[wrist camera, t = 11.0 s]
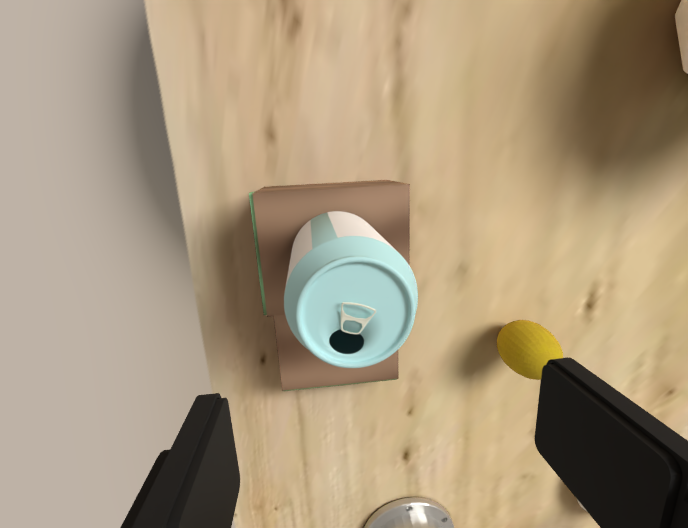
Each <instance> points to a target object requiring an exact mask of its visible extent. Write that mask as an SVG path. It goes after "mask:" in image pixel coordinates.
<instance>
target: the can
mask: <svg viewBox="0 0 688 528" xmlns="http://www.w3.org/2000/svg"><path fill="white" fill-rule="evenodd" d="M417 303H418V291H417V284H416V280H415V277H414V274H413V272H412V270H411V268H410V266H409V264H408V263H407V262H406V260H405V259H404V258H403V257H402V256H401V255H400V254H399V253H398V252H397V251H396V250H395V249H394V248H393V247H392V246H391V245H390V244H389V243H388V242H387V241H386V240H385V239H384V238H383V237H382V236H381V235H380V234H379V233H378V232H377V231H376V230H375V229H374V228H373V227H371V226H370V225H369V224H368V223H367V222H366V221H365V220H363V219H362V218H360V217H359V216H357V215H354V214H351V213H348V212H342V211H333V212H327V213H323V214H320V215H318V216H316V217H314V218H312V219H311V220H310V221H308V222H307V223H306V224H305V225H304V226H303V227H302V228H301V229H300V231H299V232H298V234H297V236H296V238H295V240H294V243H293V247H292V252H291V258H290V264H289V270H288V276H287V281H286V287H285V293H284V310H285V315H286V319H287V322H288V325H289V327H290V329H291V331H292V332H293V334H294V335H295V337H296V338H297V339H298V341H299V342H300V343H301V344H302V345H303V346H304V347H305V348H307V349H308V350H309V351H310V352H311V353H312V354H314V355H315V356H316V357H317V358H319V359H320V360H322V361H324V362H326V363H328V364H331V365H334V366H337V367H342V368H362V367H367V366H371V365H374V364H377V363H379V362H381V361H383V360H385V359H386V358H388V357H390V356H391V355H392V354H394V353H395V352H396V351H397V350H398V349H399V348H400V347H401V346H402V344H403V343H404V342H405V340H406V339H407V337H408V335H409V334H410V331H411V329H412V326H413V323H414V318H415V314H416V309H417Z"/></svg>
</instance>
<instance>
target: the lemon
mask: <svg viewBox="0 0 688 528" xmlns="http://www.w3.org/2000/svg"><path fill="white" fill-rule="evenodd" d="M497 348H498V352H499V354H500V356H501V358H502V359H503V361H504V362H505V363H506V364H507V365H508V366H509V367H510V368H511V369H512V370H513V371H515V372H516V373H518V374H520V375H522V376H524V377H527V378H530V379H536V380H540V379H541V375H542V368H543V366H544V365H546V364H547V362H548V360H550V359H559V358H563V352H562V349H561V346H560V344H559V343H558V341H557V340H556V339H555V337H554V336H553V335H552V334H551V333H550V332H549V331H548V330H547V329H545V328H544V327H542V326H541V325H539V324H537V323H534V322H531V321H526V320H518V321H513V322H511V323H508V324H507V325H505V326H504V327H503V328H502V329H501V331H500V332H499V334H498V338H497Z"/></svg>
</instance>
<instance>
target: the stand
mask: <svg viewBox="0 0 688 528" xmlns="http://www.w3.org/2000/svg"><path fill="white" fill-rule="evenodd" d="M249 198H250V206H251V214H252V222H253V231H254V239H255V247H256V255H257V263H258V271H259V279H260V288H261V296H262V304H263V312H264V315H267V316H274V323H275V331H276V340H277V349H278V358H279V366H280V375H281V384H282V391H292V390H301V389H311V388H320V387H330V386H339V385H349V384H358V383H368V382H377V381H387V380H396V379H398V350H397V351H396V352H395V353H394V354H392V355H391V356H390V357H388V358H386V359H385V360H383V361H381V362H379V363H377V364H374V365H371V366H367V367H362V368H342V367H337V366H334V365H331V364H328V363H326V362H324V361H322V360H320V359H319V358H317V357H316V356H315V355H314V354H312V353H311V352H310V351H309V350H308V349H307V348H305V347H304V346H303V345H302V344H301V343H300V342H299V341H298V339H297V338H296V337H295V335H294V334H293V332H292V331H291V329H290V327H289V325H288V322H287V319H286V315H285V310H284V293H285V287H286V281H287V276H288V270H289V264H290V258H291V252H292V247H293V243H294V240H295V238H296V236H297V234H298V232H299V231H300V229H301V228H302V227H303V226H304V225H305V224H306V223H307V222H308V221H310V220H311V219H312V218H314V217H316V216H318V215H320V214H323V213H327V212H333V211H342V212H348V213H351V214H354V215H357V216H359V217H360V218H362V219H363V220H365V221H366V222H367V223H368V224H369V225H370V226H371V227H373V228H374V229H375V230H376V231H377V232H378V233H379V234H380V235H381V236H382V237H383V238H384V239H385V240H386V241H387V242H388V243H389V244H390V245H391V246H392V247H393V248H394V249H395V250H396V251H397V252H398V253H399V254H400V255H401V256H402V257H403V258H404V259H405V260H406V262H407V263H408V264H409V214H410V184H405V183H400V182H395V181H390V180H378V181H361V182H343V183H325V184H307V185H290V186H272V187H264V188H262V189H260V190H258V191H256V192H251V193H249Z"/></svg>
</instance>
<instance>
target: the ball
mask: <svg viewBox="0 0 688 528" xmlns="http://www.w3.org/2000/svg"><path fill="white" fill-rule="evenodd" d="M675 21H676V27H677V34H678V40H679V46H680V53H681V59H682V65H683V71H685V72H686V73H687V74H688V0H681V2H680V4H679V7H678V9H677V11H676V14H675Z"/></svg>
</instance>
